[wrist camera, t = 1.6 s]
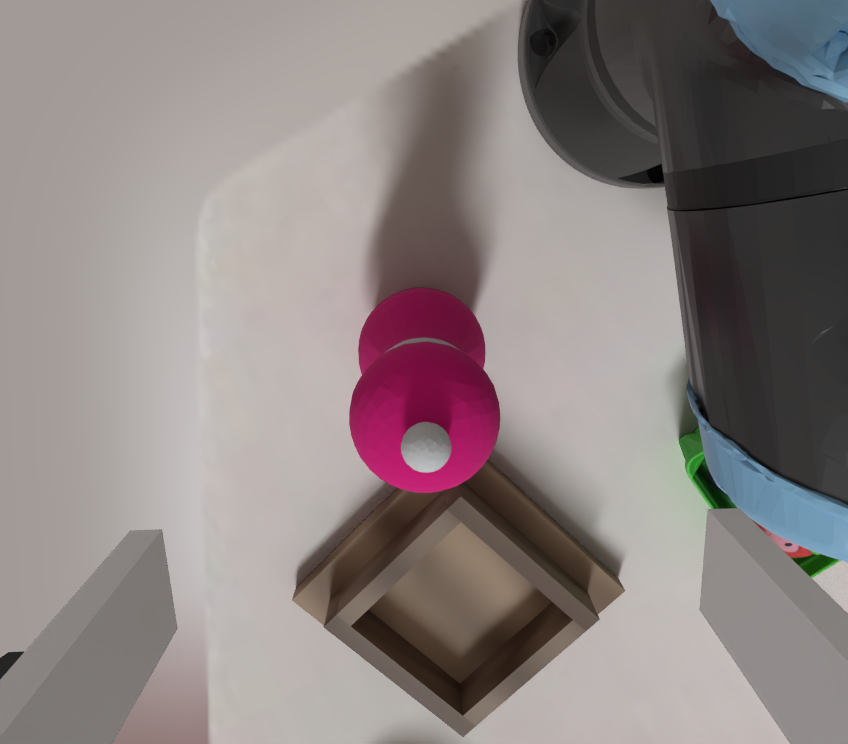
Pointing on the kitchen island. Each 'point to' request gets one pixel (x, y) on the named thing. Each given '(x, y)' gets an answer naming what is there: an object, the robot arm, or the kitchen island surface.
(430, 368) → the pepper mill
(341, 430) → the kitchen island surface
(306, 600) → the walnut stand
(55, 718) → the robot arm
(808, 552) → the fruit basket
